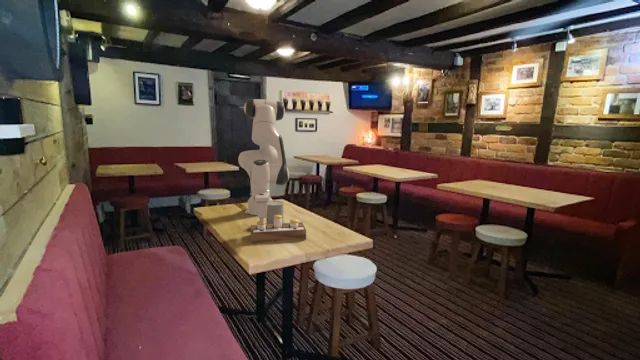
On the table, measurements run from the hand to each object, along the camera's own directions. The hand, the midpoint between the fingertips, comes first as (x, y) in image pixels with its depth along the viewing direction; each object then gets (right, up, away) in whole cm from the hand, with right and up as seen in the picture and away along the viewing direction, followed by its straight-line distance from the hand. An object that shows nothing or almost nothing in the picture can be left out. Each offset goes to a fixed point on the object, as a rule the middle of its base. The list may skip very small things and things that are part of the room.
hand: (261, 221), depth 162 cm
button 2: (+15, -7, +5) cm, 18 cm away
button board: (+8, -8, +3) cm, 11 cm away
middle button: (+8, -5, +3) cm, 9 cm away
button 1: (0, -8, +1) cm, 8 cm away
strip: (+9, -4, -2) cm, 10 cm away
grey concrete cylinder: (+4, -5, +22) cm, 23 cm away
